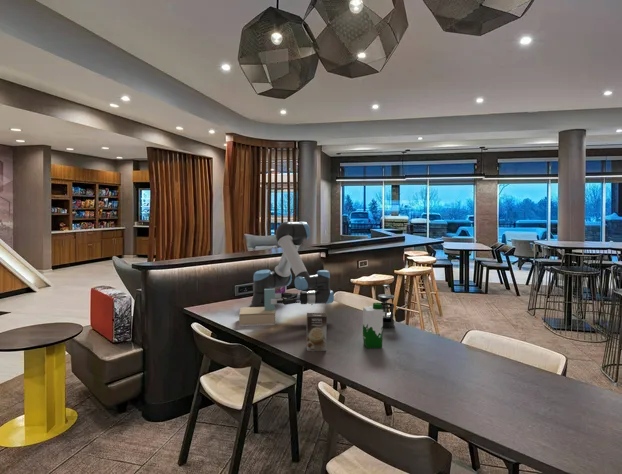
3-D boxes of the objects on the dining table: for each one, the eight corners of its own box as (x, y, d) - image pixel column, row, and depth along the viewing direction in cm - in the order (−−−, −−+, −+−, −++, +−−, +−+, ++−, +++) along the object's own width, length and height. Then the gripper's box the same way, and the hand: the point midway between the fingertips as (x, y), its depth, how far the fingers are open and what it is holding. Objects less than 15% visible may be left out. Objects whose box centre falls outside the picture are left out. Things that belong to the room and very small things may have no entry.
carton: (274, 317, 219) (274, 307, 218) (275, 324, 205) (275, 314, 205) (241, 318, 216) (240, 308, 216) (239, 326, 203) (239, 315, 202)
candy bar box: (271, 295, 278) (270, 274, 277) (272, 293, 283) (272, 272, 282) (285, 295, 277) (285, 274, 276) (286, 294, 282) (286, 273, 281)
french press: (399, 326, 201) (399, 285, 200) (387, 329, 196) (388, 287, 194) (382, 321, 211) (383, 282, 209) (371, 324, 205) (371, 284, 203)
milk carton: (384, 348, 169) (385, 306, 167) (365, 349, 168) (365, 306, 167) (379, 341, 177) (379, 301, 176) (361, 342, 177) (361, 301, 175)
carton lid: (274, 307, 218) (274, 286, 218) (275, 313, 205) (275, 291, 204) (240, 308, 216) (240, 287, 215) (239, 315, 202) (238, 292, 201)
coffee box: (306, 351, 166) (306, 316, 165) (306, 346, 172) (306, 312, 171) (326, 351, 166) (326, 316, 165) (325, 345, 172) (325, 312, 171)
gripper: (309, 309, 201) (271, 310, 198) (304, 298, 225) (270, 300, 223) (309, 296, 200) (270, 297, 198) (304, 286, 225) (270, 287, 222)
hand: (270, 298), depth 210 cm, fingers open, 13 cm apart
